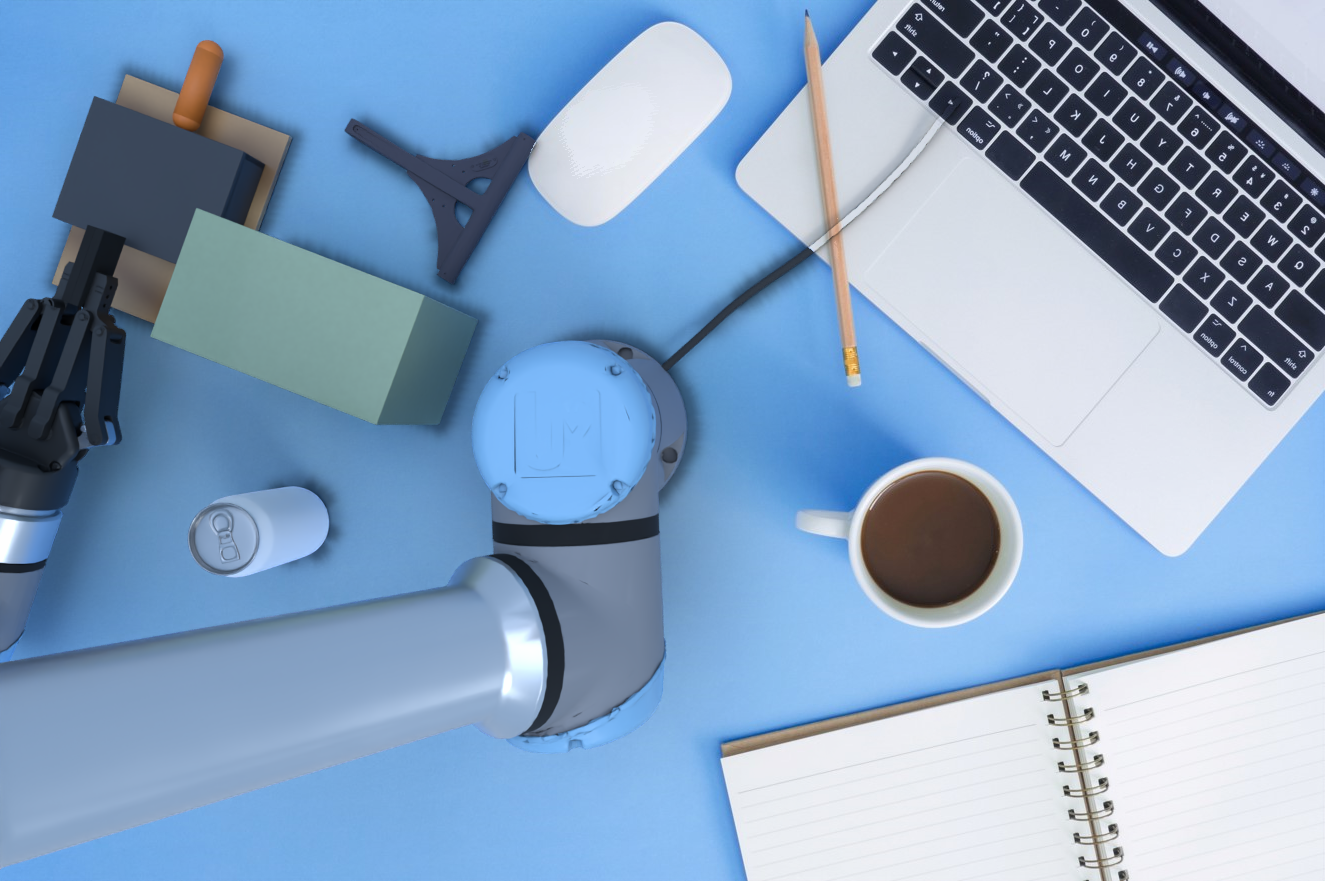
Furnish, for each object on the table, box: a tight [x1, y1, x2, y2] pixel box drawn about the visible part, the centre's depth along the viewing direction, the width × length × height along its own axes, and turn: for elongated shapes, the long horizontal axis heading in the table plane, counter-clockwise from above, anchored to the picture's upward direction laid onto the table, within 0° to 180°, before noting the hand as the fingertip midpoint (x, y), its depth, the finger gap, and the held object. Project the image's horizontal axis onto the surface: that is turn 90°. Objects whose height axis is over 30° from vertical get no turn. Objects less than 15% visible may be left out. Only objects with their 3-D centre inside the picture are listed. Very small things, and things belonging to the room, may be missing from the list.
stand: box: [149, 208, 479, 426], centre depth 71 cm, size 10×18×15 cm, turn 69°
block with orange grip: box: [51, 39, 265, 264], centre depth 77 cm, size 4×14×19 cm
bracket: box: [344, 117, 537, 285], centre depth 77 cm, size 14×15×3 cm
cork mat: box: [51, 73, 293, 325], centre depth 79 cm, size 20×16×1 cm
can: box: [187, 485, 330, 578], centre depth 73 cm, size 6×6×12 cm
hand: (107, 231), depth 72 cm, fingers closed
